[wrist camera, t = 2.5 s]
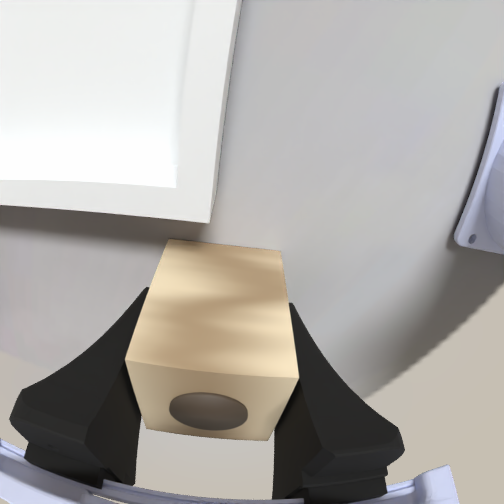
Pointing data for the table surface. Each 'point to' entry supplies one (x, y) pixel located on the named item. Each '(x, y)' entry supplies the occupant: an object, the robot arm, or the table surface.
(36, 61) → the tray
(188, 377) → the bore block
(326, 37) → the table surface
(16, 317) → the table surface
